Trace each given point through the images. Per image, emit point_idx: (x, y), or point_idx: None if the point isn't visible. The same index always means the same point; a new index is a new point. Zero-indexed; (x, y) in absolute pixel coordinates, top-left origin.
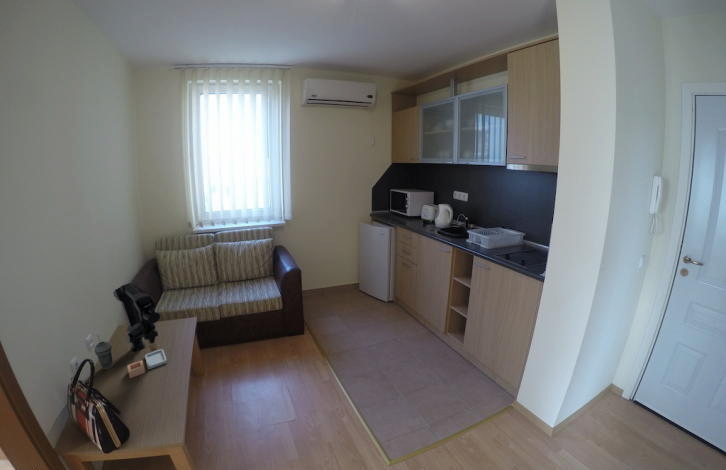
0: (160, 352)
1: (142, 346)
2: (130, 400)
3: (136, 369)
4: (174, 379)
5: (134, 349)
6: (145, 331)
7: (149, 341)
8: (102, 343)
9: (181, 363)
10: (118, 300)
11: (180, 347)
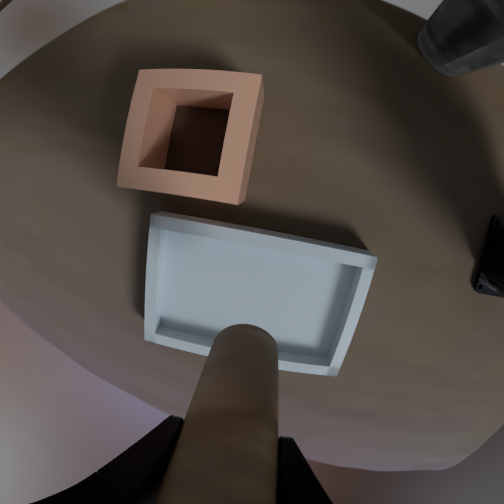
0: (318, 348)
1: (489, 280)
2: (11, 96)
3: (129, 128)
4: (10, 280)
5: (501, 232)
6: None
7: (190, 440)
8: None
9: (97, 363)
10: None
11: None
